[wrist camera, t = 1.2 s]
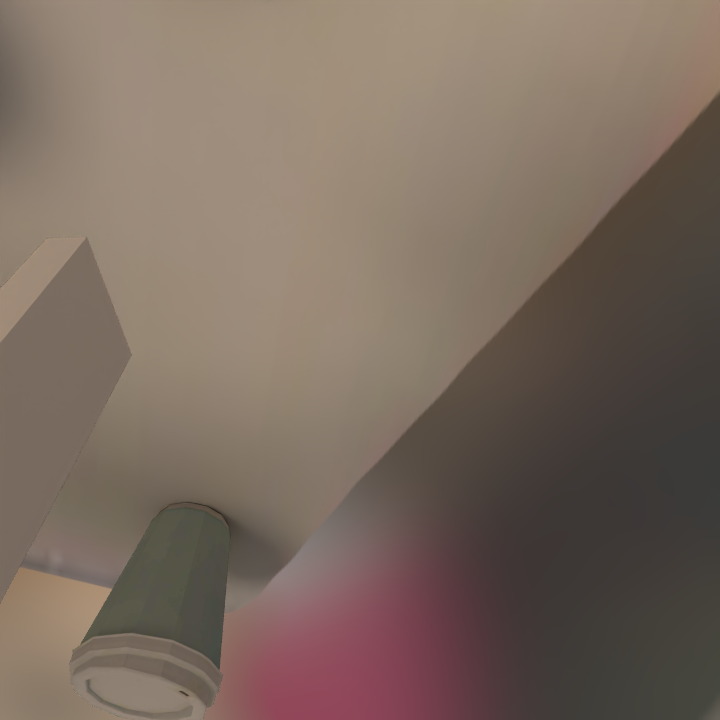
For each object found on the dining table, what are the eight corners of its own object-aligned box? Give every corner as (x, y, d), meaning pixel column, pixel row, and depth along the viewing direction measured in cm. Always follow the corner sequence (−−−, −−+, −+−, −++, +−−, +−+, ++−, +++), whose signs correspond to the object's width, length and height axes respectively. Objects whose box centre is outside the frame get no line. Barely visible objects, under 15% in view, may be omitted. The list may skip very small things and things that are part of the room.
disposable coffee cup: (184, 568, 58) (134, 745, 46) (102, 505, 52) (21, 690, 40) (276, 537, 54) (246, 721, 43) (198, 467, 48) (140, 657, 37)
